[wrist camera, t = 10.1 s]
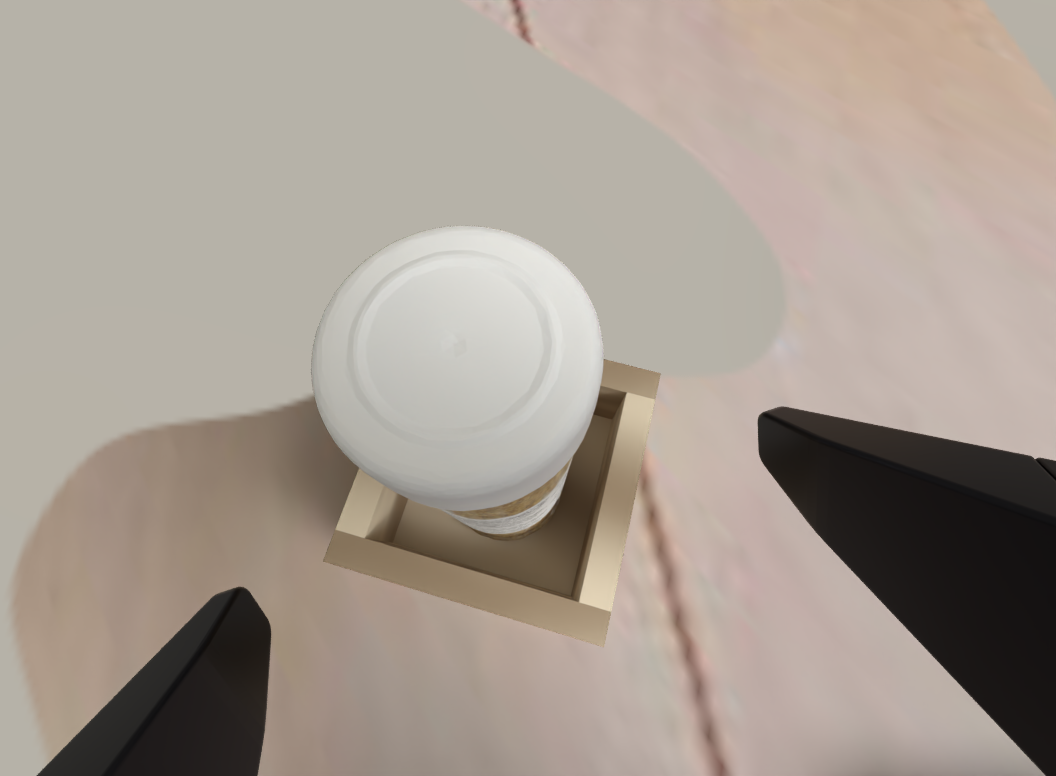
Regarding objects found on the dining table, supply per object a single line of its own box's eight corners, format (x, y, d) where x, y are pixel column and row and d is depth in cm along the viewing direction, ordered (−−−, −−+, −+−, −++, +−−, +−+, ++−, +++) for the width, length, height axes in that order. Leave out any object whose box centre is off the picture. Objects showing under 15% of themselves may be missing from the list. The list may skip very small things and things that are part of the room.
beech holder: (588, 629, 20) (603, 647, 15) (366, 562, 20) (323, 561, 16) (636, 410, 22) (660, 373, 18) (439, 359, 23) (419, 312, 19)
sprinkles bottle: (474, 413, 21) (378, 183, 9) (579, 448, 21) (643, 256, 8) (431, 520, 20) (243, 434, 7) (543, 561, 19) (552, 546, 7)
